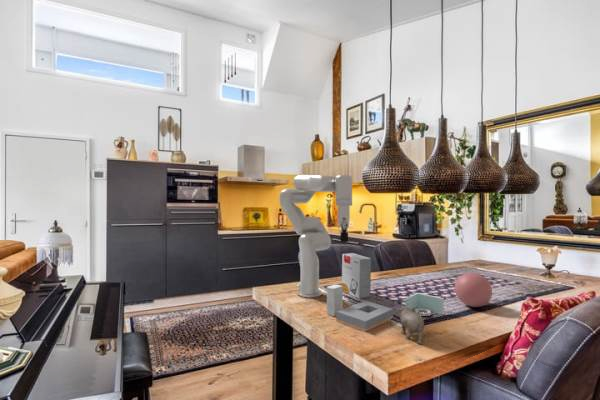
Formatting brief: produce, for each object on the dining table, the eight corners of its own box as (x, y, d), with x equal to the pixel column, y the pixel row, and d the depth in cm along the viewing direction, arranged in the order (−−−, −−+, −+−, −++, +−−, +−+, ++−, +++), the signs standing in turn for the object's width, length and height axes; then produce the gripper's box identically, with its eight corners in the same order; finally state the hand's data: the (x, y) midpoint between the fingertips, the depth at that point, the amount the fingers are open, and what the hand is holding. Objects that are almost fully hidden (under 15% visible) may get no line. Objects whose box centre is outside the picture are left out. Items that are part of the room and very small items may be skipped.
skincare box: (335, 310, 147) (335, 284, 146) (342, 313, 144) (343, 285, 143) (326, 314, 142) (326, 286, 142) (333, 316, 139) (334, 288, 139)
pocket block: (336, 321, 135) (336, 311, 134) (365, 309, 148) (365, 300, 148) (365, 331, 124) (365, 321, 124) (392, 318, 138) (393, 308, 138)
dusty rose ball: (479, 298, 166) (480, 268, 165) (498, 312, 146) (498, 278, 145) (447, 297, 168) (447, 266, 167) (461, 310, 148) (461, 276, 147)
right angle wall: (404, 315, 143) (405, 298, 143) (416, 308, 152) (416, 292, 152) (432, 323, 135) (433, 305, 135) (443, 315, 144) (443, 298, 143)
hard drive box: (341, 290, 177) (341, 253, 177) (352, 289, 180) (353, 252, 180) (358, 299, 163) (359, 259, 163) (371, 297, 167) (371, 257, 166)
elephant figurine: (401, 338, 113) (403, 296, 121) (397, 347, 124) (398, 307, 132) (425, 343, 111) (425, 299, 119) (418, 351, 122) (419, 311, 130)
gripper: (335, 202, 158) (336, 238, 158) (335, 202, 141) (335, 243, 140) (351, 202, 157) (351, 238, 157) (353, 202, 140) (353, 243, 140)
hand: (344, 240), depth 149 cm, fingers open, 9 cm apart
